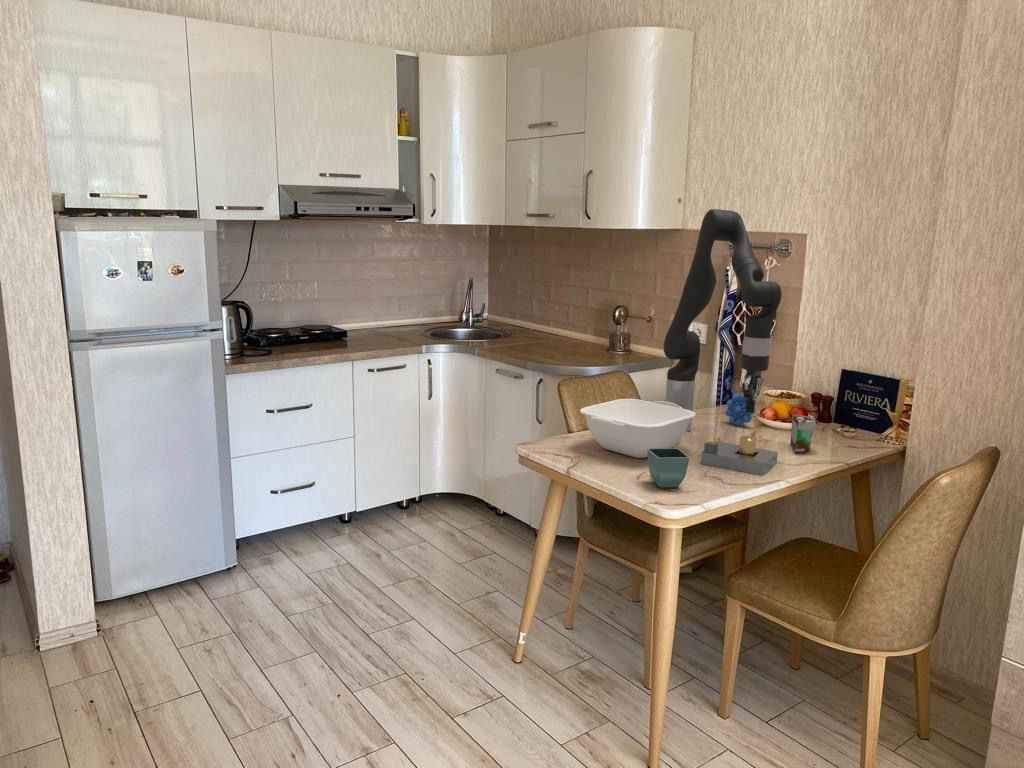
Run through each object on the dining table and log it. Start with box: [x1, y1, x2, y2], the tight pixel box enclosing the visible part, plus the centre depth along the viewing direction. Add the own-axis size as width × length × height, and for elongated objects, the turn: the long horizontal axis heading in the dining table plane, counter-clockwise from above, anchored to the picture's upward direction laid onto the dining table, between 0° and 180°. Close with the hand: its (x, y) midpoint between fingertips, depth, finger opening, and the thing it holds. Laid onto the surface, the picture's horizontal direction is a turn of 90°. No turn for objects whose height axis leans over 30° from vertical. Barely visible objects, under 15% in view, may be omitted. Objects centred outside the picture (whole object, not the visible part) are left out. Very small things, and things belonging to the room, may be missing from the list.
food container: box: [789, 413, 817, 455], centre depth 241 cm, size 12×6×10 cm, turn 168°
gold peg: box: [739, 435, 757, 457], centre depth 225 cm, size 4×4×8 cm
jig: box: [700, 440, 779, 476], centre depth 226 cm, size 18×14×6 cm
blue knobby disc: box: [724, 392, 756, 427], centre depth 269 cm, size 12×7×12 cm, turn 39°
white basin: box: [579, 398, 697, 459], centre depth 237 cm, size 34×28×13 cm
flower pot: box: [647, 447, 690, 489], centre depth 206 cm, size 9×9×9 cm
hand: (749, 412), depth 223 cm, fingers closed
